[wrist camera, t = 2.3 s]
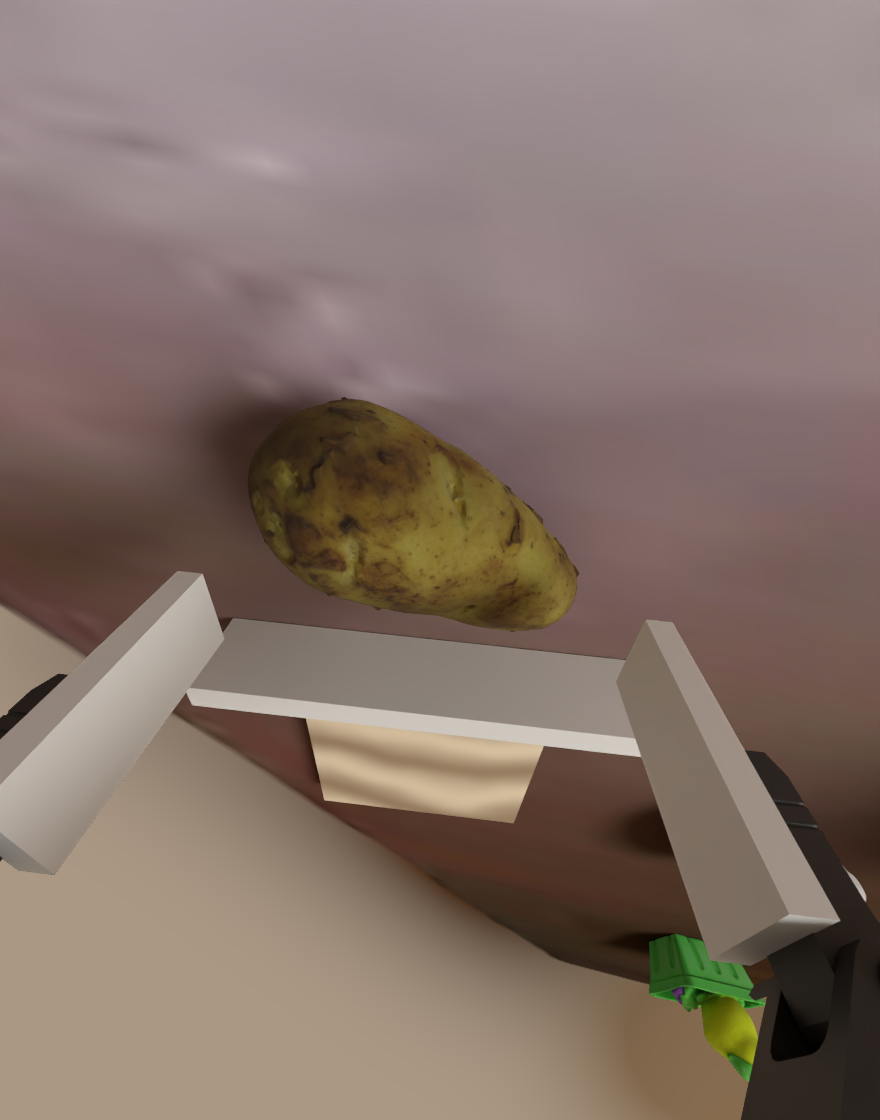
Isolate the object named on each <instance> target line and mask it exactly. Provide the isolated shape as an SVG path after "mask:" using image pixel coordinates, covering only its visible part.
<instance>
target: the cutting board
mask: <svg viewBox="0 0 880 1120" xmlns="http://www.w3.org/2000/svg"><path fill="white" fill-rule="evenodd" d="M306 721H307V725H308V730H309V734H310V739H311V743H312V747H313V752H314V756H315V761H316V765H317V769H318V774H319V778H320V783H321V787H322V791H323V796H324V800H328V801H336V802H344V803H353V804H361V805H369V806H377V807H385V808H394V809H402V810H410V811H418V812H426V813H435V814H443V815H451V816H459V817H467V818H476V819H484V820H492V821H500V822H508V823H514V821H515V818H516V816H517V813H518V810H519V808H520V805H521V803H522V800H523V798H524V795H525V793H526V790H527V787H528V785H529V782H530V780H531V777H532V775H533V772H534V770H535V767H536V765H537V762H538V759H539V757H540V754H541V752H542V749H543V747H544V746H543V745H534V744H525V743H517V742H508V741H499V740H491V739H482V738H473V737H464V736H456V735H447V734H438V733H430V732H421V731H412V730H404V729H395V728H386V727H378V726H369V725H360V724H352V723H343V722H334V721H326V720H317V719H308V718H306Z"/></svg>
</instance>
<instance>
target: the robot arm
mask: <svg viewBox="0 0 880 1120" xmlns="http://www.w3.org/2000/svg"><path fill="white" fill-rule="evenodd" d="M223 640H224V636H223V633H222V630H221V627H220V624H219V621H218V618H217V615H216V612H215V609H214V606H213V603H212V600H211V597H210V594H209V592H208V589H207V586H206V583H205V580H204V577H203V574H201V573H191V572H182V571H177V572H176V573H175V574H174V575H173V576H172V577H171V578H170V579H169V580H168V581H167V582H166V583H165V584H163V585H162V586H161V587H160V588H159V589H158V590H157V591H156V592H155V593H154V594H153V595H152V596H151V597H150V598H149V599H148V600H147V601H146V602H145V603H143V604H142V605H141V606H140V607H139V608H138V609H137V610H136V611H135V612H134V613H133V614H132V615H131V616H130V617H129V618H128V619H127V620H126V621H125V622H123V623H122V624H121V625H120V626H119V627H118V628H117V629H116V630H115V631H114V632H113V633H112V634H111V635H110V636H109V637H108V638H107V639H106V640H105V641H103V642H102V643H101V644H100V645H99V646H98V647H97V648H96V649H95V650H94V651H93V652H92V653H91V654H90V655H89V656H88V657H87V658H86V659H85V660H84V661H82V662H81V663H80V664H79V665H78V666H77V667H76V668H75V669H74V670H73V671H72V672H71V673H70V674H69V675H64V674H57V675H56V676H54V677H52V678H51V679H49V680H47V681H46V682H44V683H43V684H41V685H39V686H37V687H36V688H34V689H32V690H31V691H30V692H29V693H28V694H26V695H25V696H24V697H23V698H22V699H21V700H20V701H19V702H18V703H16V704H15V705H14V706H13V707H12V708H11V709H10V710H9V711H8V714H7V715H3V716H2V717H1V718H0V861H1V860H2V859H3V860H5V861H6V862H7V863H9V864H10V865H12V866H13V867H15V868H16V869H17V870H19V871H27V872H34V873H42V874H50V875H55V873H56V872H57V871H58V869H59V868H60V866H61V865H62V864H63V862H64V861H65V860H66V858H67V857H68V855H69V854H70V853H71V851H72V850H73V848H74V847H75V846H76V844H77V843H78V842H79V840H80V839H81V837H82V836H83V835H84V833H85V832H86V831H87V829H88V828H89V826H90V825H91V824H92V822H93V821H94V819H95V818H96V817H97V815H98V814H99V812H100V811H101V810H102V808H103V807H104V806H105V804H106V803H107V801H108V800H109V799H110V797H111V796H112V794H113V793H114V792H115V790H116V789H117V788H118V786H119V785H120V783H121V782H122V781H123V779H124V778H125V776H126V775H127V774H128V772H129V771H130V769H131V768H132V767H133V765H134V763H136V761H137V760H138V758H139V757H140V756H141V754H142V753H143V751H144V750H145V749H146V747H147V746H148V744H149V743H150V742H151V740H152V739H153V738H154V736H155V735H156V733H157V732H158V731H159V729H160V728H161V726H162V725H163V724H164V722H165V721H166V719H167V718H168V717H169V715H170V714H171V713H172V711H173V710H174V708H175V707H176V706H177V704H178V703H179V701H180V700H181V699H182V697H183V696H184V694H185V693H186V692H187V690H188V689H189V688H190V686H191V685H192V683H193V682H194V681H195V679H196V678H197V676H198V675H199V674H200V672H201V671H202V669H203V668H204V667H205V665H206V664H207V663H208V661H209V660H210V658H211V657H212V656H213V654H214V653H215V651H216V650H217V649H218V647H219V646H220V644H221V643H222V642H223ZM616 683H617V686H618V689H619V692H620V695H621V698H622V701H623V704H624V707H625V710H626V713H627V716H628V719H629V722H630V725H631V728H632V731H633V734H634V737H635V739H636V742H637V745H638V748H639V751H640V754H641V757H642V760H643V763H644V766H645V769H646V772H647V775H648V778H649V781H650V784H651V787H652V790H653V793H654V796H655V799H656V802H657V805H658V808H659V811H660V813H661V816H662V819H663V822H664V825H665V828H666V831H667V834H668V837H669V840H670V843H671V846H672V849H673V852H674V855H675V858H676V861H677V864H678V867H679V870H680V873H681V876H682V879H683V882H684V884H685V887H686V890H687V893H688V896H689V899H690V902H691V905H692V908H693V911H694V914H695V917H696V920H697V923H698V926H699V929H700V932H701V935H702V938H703V941H704V944H705V947H706V950H707V953H708V956H709V958H710V960H712V961H719V962H727V963H735V964H742V965H750V966H751V965H753V964H755V963H757V962H759V961H761V960H763V959H765V958H767V957H768V960H769V962H770V964H771V967H772V969H773V971H774V974H775V976H774V977H772V978H769V979H767V980H765V981H763V982H760V983H758V984H756V985H754V986H753V988H752V990H751V991H750V993H749V996H750V997H751V998H752V999H754V1000H755V1001H756V1000H759V999H761V998H764V997H766V996H767V999H766V1004H765V1009H764V1013H763V1018H762V1023H761V1028H760V1032H759V1037H758V1041H757V1046H756V1051H755V1055H754V1060H753V1065H752V1070H751V1074H750V1079H749V1084H748V1088H747V1093H746V1098H745V1103H744V1107H743V1112H742V1117H741V1120H880V924H879V922H878V921H877V920H876V918H875V917H874V915H873V913H872V912H871V910H870V909H869V907H868V905H867V904H866V902H865V900H864V899H863V897H862V896H861V894H860V892H859V891H858V889H857V888H856V886H855V884H854V883H853V881H852V879H851V878H850V876H849V875H848V873H847V871H846V870H845V868H844V867H843V865H842V863H841V862H840V860H839V859H838V857H837V855H836V854H835V852H834V850H833V849H832V847H831V846H830V844H829V842H828V841H827V839H826V838H825V836H824V834H823V833H822V831H819V830H818V828H817V823H816V821H815V820H814V818H813V817H812V815H811V813H810V812H809V810H808V809H807V808H805V807H804V805H803V803H804V802H803V801H802V799H801V797H800V796H799V794H798V792H797V791H796V789H795V788H794V786H793V784H792V783H791V781H790V780H789V778H788V776H787V775H786V774H785V773H784V772H783V771H782V770H781V769H780V768H779V767H778V766H777V765H776V764H775V763H774V762H773V761H772V760H771V759H770V758H769V757H768V756H767V755H766V754H765V753H764V752H755V751H747V750H744V748H743V747H742V745H741V743H740V741H739V740H738V738H737V736H736V734H735V732H734V731H733V729H732V727H731V725H730V724H729V722H728V720H727V718H726V717H725V715H724V713H723V711H722V709H721V708H720V706H719V704H718V702H717V701H716V699H715V697H714V695H713V693H712V692H711V690H710V688H709V686H708V685H707V683H706V681H705V679H704V677H703V676H702V674H701V672H700V670H699V669H698V667H697V665H696V663H695V661H694V660H693V658H692V656H691V654H690V653H689V651H688V649H687V647H686V646H685V644H684V642H683V640H682V638H681V637H680V635H679V633H678V631H677V630H676V628H675V626H674V624H673V622H665V621H656V620H645V622H644V624H643V626H642V628H641V630H640V632H639V634H638V636H637V638H636V640H635V643H634V645H633V647H632V649H631V651H630V653H629V655H628V657H627V659H626V661H625V663H624V666H623V668H622V670H621V672H620V674H619V676H618V678H617V680H616Z"/></svg>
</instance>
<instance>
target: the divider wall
mask: <svg viewBox="0 0 880 1120" xmlns="http://www.w3.org/2000/svg"><path fill="white" fill-rule="evenodd" d="M223 636H224V640H223V642H222V643H221V644H220V646H219V647H218V649H217V650H216V651H215V653H214V654H213V656H212V657H211V658H210V660H209V661H208V663H207V664H206V665H205V667H204V668H203V669H202V671H201V672H200V674H199V675H198V676H197V678H196V679H195V681H194V682H193V683H192V685H191V686H190V688H189V689H188V690H187V692H186V693H187V695H188V697H189V699H190V701H191V703H192V705H196V706H204V707H213V708H222V709H230V710H239V711H248V712H256V713H265V714H274V715H282V716H291V717H300V718H308V719H317V720H326V721H334V722H343V723H352V724H360V725H369V726H378V727H386V728H395V729H404V730H412V731H421V732H430V733H438V734H447V735H456V736H464V737H473V738H482V739H491V740H499V741H508V742H517V743H525V744H534V745H543V746H551V747H560V748H569V749H577V750H586V751H595V752H603V753H612V754H621V755H629V756H638V757H641V754H640V751H639V748H638V745H637V742H636V739H635V737H634V734H633V731H632V728H631V725H630V722H629V719H628V716H627V713H626V710H625V707H624V704H623V701H622V698H621V695H620V692H619V689H618V686H617V683H616V680H617V678H618V676H619V674H620V672H621V670H622V668H623V666H624V663H625V661H626V660H620V659H611V658H601V657H592V656H583V655H573V654H564V653H555V652H545V651H536V650H527V649H518V648H508V647H499V646H490V645H480V644H471V643H462V642H452V641H443V640H434V639H425V638H415V637H406V636H397V635H387V634H378V633H369V632H359V631H350V630H341V629H332V628H322V627H313V626H304V625H294V624H285V623H276V622H266V621H257V620H248V619H239V618H233V619H232V621H231V622H230V623H229V625H228V626H227V628H226V629H225V630H224V632H223Z"/></svg>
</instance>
